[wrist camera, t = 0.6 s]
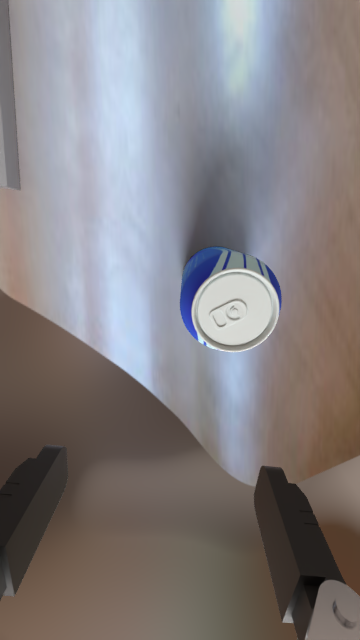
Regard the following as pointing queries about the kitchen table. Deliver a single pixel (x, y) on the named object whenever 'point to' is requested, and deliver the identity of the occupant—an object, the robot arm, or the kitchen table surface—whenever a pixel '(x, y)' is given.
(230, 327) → the beer can
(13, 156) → the breaker panel
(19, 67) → the kitchen table surface
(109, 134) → the kitchen table surface
